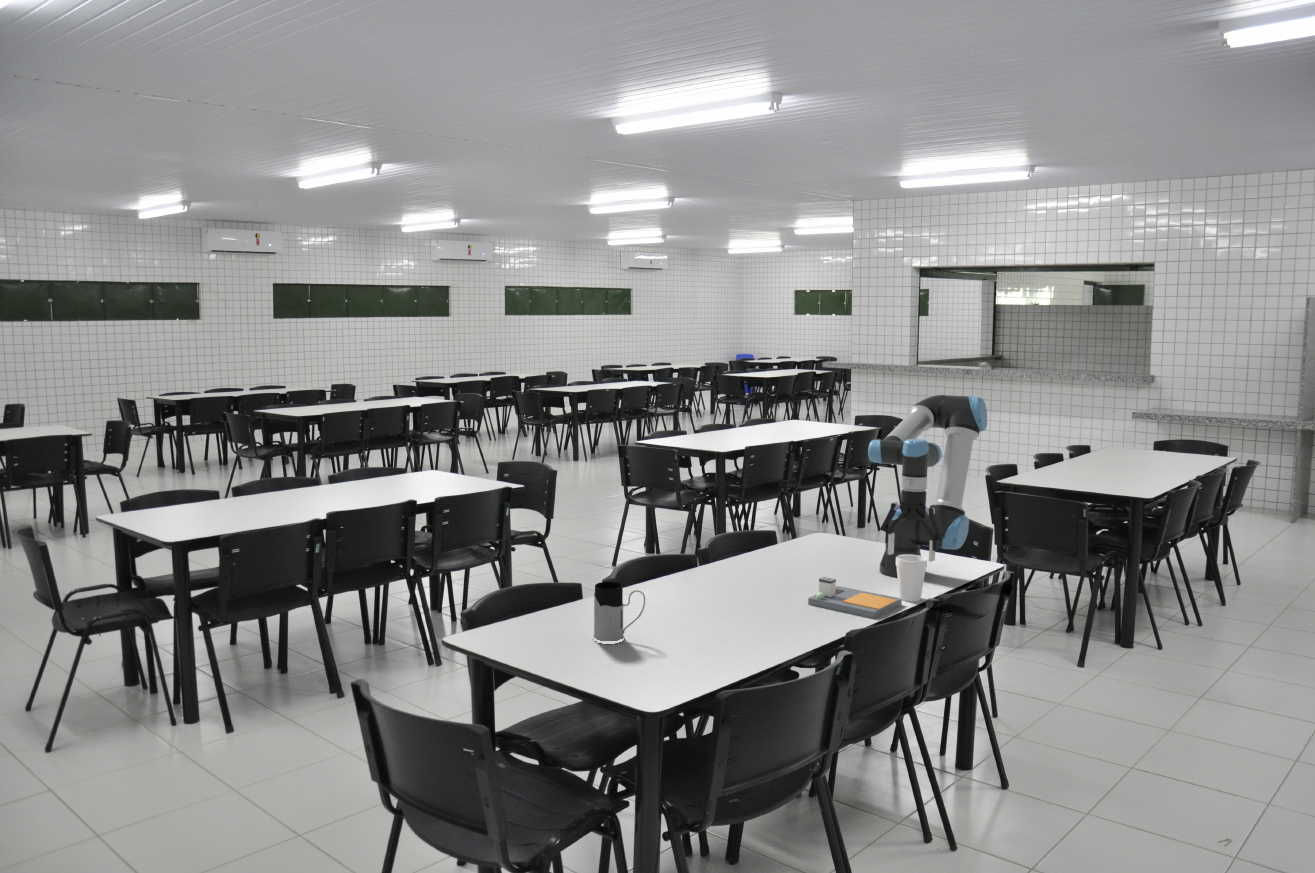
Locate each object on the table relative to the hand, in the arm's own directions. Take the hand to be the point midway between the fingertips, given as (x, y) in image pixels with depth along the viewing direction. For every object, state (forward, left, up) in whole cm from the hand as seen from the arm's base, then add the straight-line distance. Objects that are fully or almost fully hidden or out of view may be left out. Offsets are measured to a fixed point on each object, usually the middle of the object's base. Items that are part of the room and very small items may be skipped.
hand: (910, 557), depth 299 cm
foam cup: (0, 0, -14) cm, 14 cm away
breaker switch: (+20, -18, -11) cm, 29 cm away
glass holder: (+88, -43, -14) cm, 99 cm away
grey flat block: (+17, -10, -13) cm, 24 cm away
